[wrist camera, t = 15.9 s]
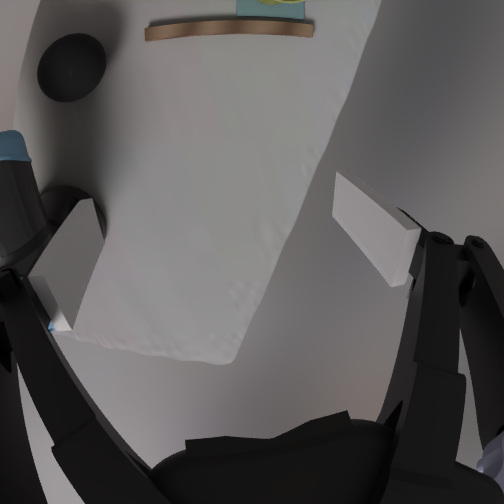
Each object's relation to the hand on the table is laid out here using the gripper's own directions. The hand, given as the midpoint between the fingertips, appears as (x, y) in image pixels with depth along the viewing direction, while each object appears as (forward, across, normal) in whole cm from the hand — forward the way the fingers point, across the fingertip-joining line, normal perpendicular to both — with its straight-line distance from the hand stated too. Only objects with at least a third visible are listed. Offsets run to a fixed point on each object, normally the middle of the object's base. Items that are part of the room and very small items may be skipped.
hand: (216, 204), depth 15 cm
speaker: (+32, -17, +12) cm, 38 cm away
